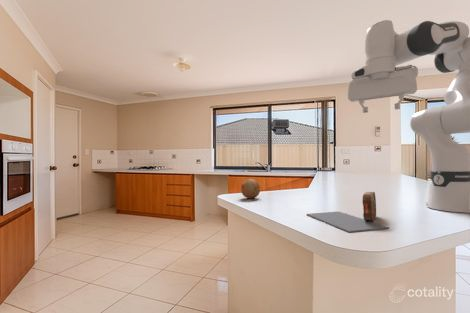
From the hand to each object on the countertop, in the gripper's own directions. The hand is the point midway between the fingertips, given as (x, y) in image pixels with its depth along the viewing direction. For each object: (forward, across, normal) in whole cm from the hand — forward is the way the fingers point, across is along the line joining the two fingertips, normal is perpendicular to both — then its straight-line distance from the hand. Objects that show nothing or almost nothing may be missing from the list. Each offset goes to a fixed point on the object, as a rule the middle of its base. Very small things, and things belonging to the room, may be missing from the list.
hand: (380, 110), depth 85 cm
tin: (+36, +3, +8) cm, 37 cm away
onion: (+36, +59, -10) cm, 70 cm away
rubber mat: (+36, +10, +14) cm, 40 cm away
